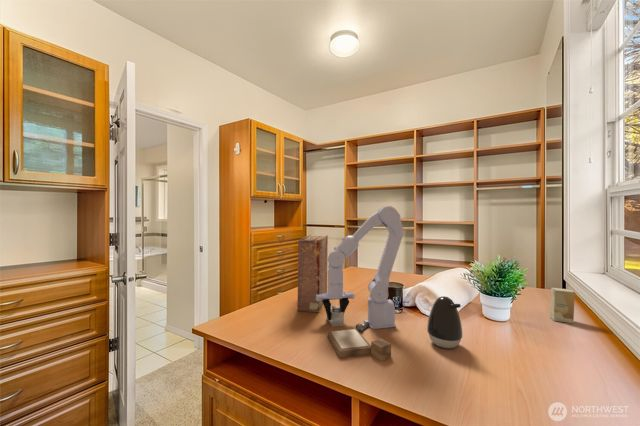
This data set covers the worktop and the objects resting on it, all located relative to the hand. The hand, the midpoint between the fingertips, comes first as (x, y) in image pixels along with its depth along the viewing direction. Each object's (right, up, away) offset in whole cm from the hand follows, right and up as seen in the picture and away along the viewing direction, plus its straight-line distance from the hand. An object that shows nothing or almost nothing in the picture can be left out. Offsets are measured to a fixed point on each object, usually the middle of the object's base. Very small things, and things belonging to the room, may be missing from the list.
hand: (335, 318), depth 103 cm
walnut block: (+12, -2, -24) cm, 27 cm away
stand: (+3, -2, -18) cm, 18 cm away
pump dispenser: (+34, -2, -16) cm, 38 cm away
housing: (0, -1, 0) cm, 1 cm away
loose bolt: (+10, -2, -5) cm, 12 cm away
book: (-9, -2, +23) cm, 24 cm away
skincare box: (+90, -3, +4) cm, 90 cm away
